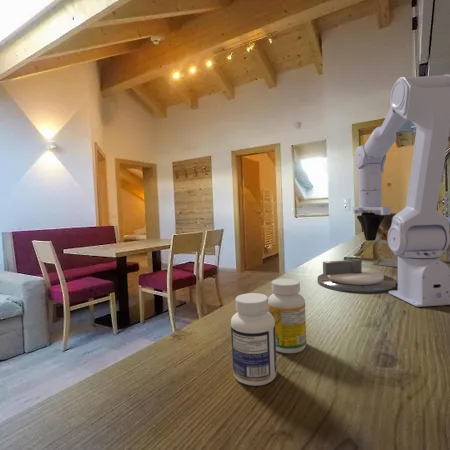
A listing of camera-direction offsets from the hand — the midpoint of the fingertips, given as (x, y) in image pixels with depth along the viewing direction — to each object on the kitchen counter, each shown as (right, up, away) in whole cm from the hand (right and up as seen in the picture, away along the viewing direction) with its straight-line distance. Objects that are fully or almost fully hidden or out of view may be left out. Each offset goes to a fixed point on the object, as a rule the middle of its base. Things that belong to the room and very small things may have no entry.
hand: (370, 240), depth 86 cm
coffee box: (+12, -8, +11) cm, 18 cm away
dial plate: (-8, -10, -8) cm, 15 cm away
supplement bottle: (-31, -14, -40) cm, 53 cm away
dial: (-8, -9, -8) cm, 15 cm away
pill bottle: (-37, -15, -48) cm, 62 cm away
